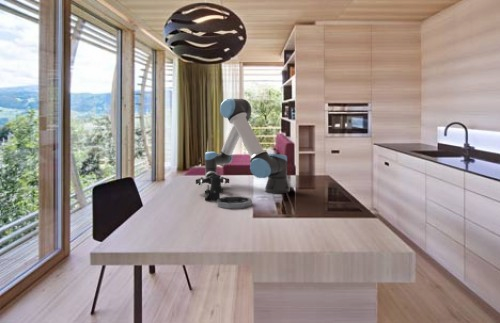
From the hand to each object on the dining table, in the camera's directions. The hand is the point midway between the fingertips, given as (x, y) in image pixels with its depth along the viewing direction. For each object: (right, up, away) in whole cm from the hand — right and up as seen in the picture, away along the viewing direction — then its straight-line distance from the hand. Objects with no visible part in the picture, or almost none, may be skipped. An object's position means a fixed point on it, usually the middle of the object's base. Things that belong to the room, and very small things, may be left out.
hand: (213, 183), depth 231 cm
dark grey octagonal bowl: (+13, -10, -21) cm, 27 cm away
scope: (+1, -9, -8) cm, 12 cm away
